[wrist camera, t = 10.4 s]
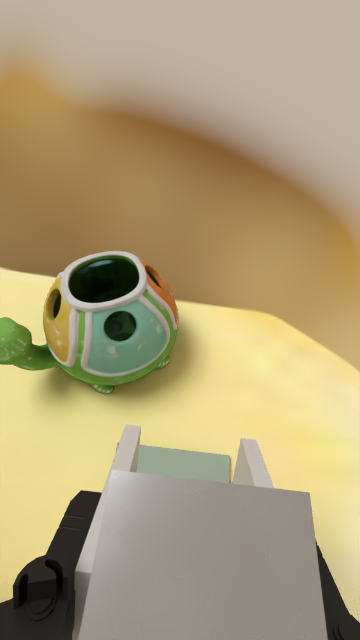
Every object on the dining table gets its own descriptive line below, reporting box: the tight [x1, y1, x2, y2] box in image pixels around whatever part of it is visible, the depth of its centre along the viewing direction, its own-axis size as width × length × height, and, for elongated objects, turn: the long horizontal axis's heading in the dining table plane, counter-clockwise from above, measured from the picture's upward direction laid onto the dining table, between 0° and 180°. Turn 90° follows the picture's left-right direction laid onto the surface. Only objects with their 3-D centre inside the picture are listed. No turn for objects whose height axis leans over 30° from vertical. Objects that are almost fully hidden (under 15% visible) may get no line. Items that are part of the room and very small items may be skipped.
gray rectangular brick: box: [78, 470, 328, 640], centre depth 10 cm, size 5×5×11 cm
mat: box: [115, 443, 230, 483], centre depth 25 cm, size 11×11×1 cm
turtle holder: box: [0, 251, 179, 394], centre depth 28 cm, size 12×18×12 cm
